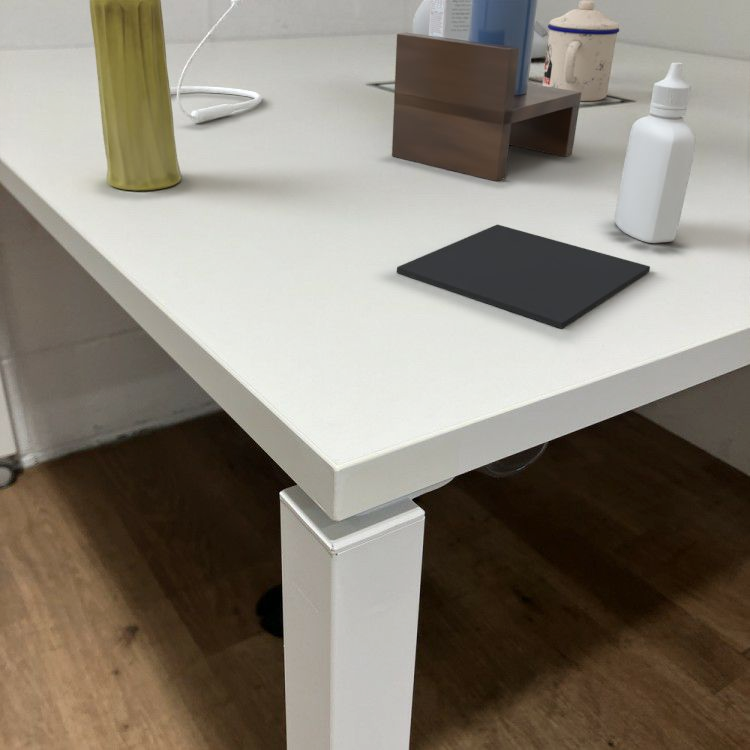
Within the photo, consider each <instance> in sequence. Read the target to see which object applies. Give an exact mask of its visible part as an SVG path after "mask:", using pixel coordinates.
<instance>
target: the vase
mask: <svg viewBox="0 0 750 750" xmlns="http://www.w3.org/2000/svg"><path fill="white" fill-rule="evenodd" d="M89 12H90V22H91V29H92V36H93V45H94V54H95V63H96V74H97V85H98V94H99V95H98V96H99V105H100V116H101V117H100V119H101V125H102V126H101V128H102V136H103V143H104V144H103V145H104V150H105V159H106V165H107V170H106V171H107V172H106V182H107V184H108V185H109V186H111V187H113V188H116V189H119V190H124V191H138V192H139V191H140V192H141V191H144V192H145V191H157V190H161V189H165V188H166V189H167V188H170V187H173V186H175V185H177V184H178V183H180V181H181V179H182V173H181V172H182V171H181V169H180V165H179V160H178V153H177V146H176V145H177V144H176V137H175V127H174V126H175V125H174V116H173V115H174V114H173V113H174V112H173V104H172V98H171V94H170V87H171V86H170V81H169V72H168V65H167V50H166V39H165V29H164V28H165V27H164V21H163V20H164V17H163V9H162V0H89Z"/></svg>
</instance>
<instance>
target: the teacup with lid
mask: <svg viewBox="0 0 750 750" xmlns="http://www.w3.org/2000/svg"><path fill="white" fill-rule="evenodd" d="M595 6H596V2H595V1H594V0H580V1H579V3H578V8H576V9H575V8H574V9H571V10H569V11H568V12H566V13H565V14H563V15H561V16H558V17H555V18H552V19H551V20H550V21H549V23H548V25H547V28H548V35H549V37H548V45H547V52H546V55H545V61H544V70H543V78H542V85H541V86H547V87H553V88H559V89H565V90H572V91H578V92H581V99H580V102H596V101H602V100H604V99H605V98H607V95H608V92H609V91H608V89H609V85H610V79H611V73H612V67H613V60H614V53H615V47H616V41H617V36H618V34H619V32H620V25H619V23H618V22H616V21H614V20H612V19H609V18H608V17H607V16H606V15H605V14H603V12H601V11H599V10H596V9H595Z"/></svg>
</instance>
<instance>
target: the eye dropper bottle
mask: <svg viewBox="0 0 750 750" xmlns="http://www.w3.org/2000/svg"><path fill="white" fill-rule="evenodd" d="M691 89H692V87H691V85H690V84H689V83H687V82H685V80H684V79H683V63H681V62H671V64H670V66H669V69H668V71H667V74H666V76H665V78H664V79H661V80H659V81H657V82H655V83H654V84H653V90H652V95H651V100H650V105H649V110H648V111H649V113H650V114H649V115H646V116H643V117H640V118H638V119H637V120H636V121H634V123H633V124H632V126H631V130H630V132H629V138H628V142H627V146H626V147H627V148H626V152H625V158H624V163H623V169H622V174H621V180H620V186H619V192H618V197H617V202H616V208H615V213H614V222H615V224H616V227H618V229H619V230H620V231H621V232H623V233H624V234H625V235H627V236H630V237H631V238H634V239H635V240H639V241H641V242H644V243H649V244H658V243H659V244H660V243H670V242H674V240H675V239H676V237H677V236H678V235H677V234H678V229H679V225H680V222H681V216H682V211H683V207H684V202H685V199H686V195H687V189H688V184H689V180H690V175H691V171H692V166H693V162H694V156H695V152H696V151H695V150H696V143H697V142H696V141H697V140H696V136H695V132H694V130H693V129H692V127H691V126H690V125H689V123H688V122H687V121H686V120H685V119H684V117H685V116H686V113H687V109H688V104H689V98H690V93H691Z"/></svg>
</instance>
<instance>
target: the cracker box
mask: <svg viewBox="0 0 750 750" xmlns="http://www.w3.org/2000/svg"><path fill="white" fill-rule="evenodd" d="M470 11H471V0H430V14H429V36H436V37H444V38H451V39H459V40H466V41H468V36H469V24H470Z"/></svg>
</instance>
